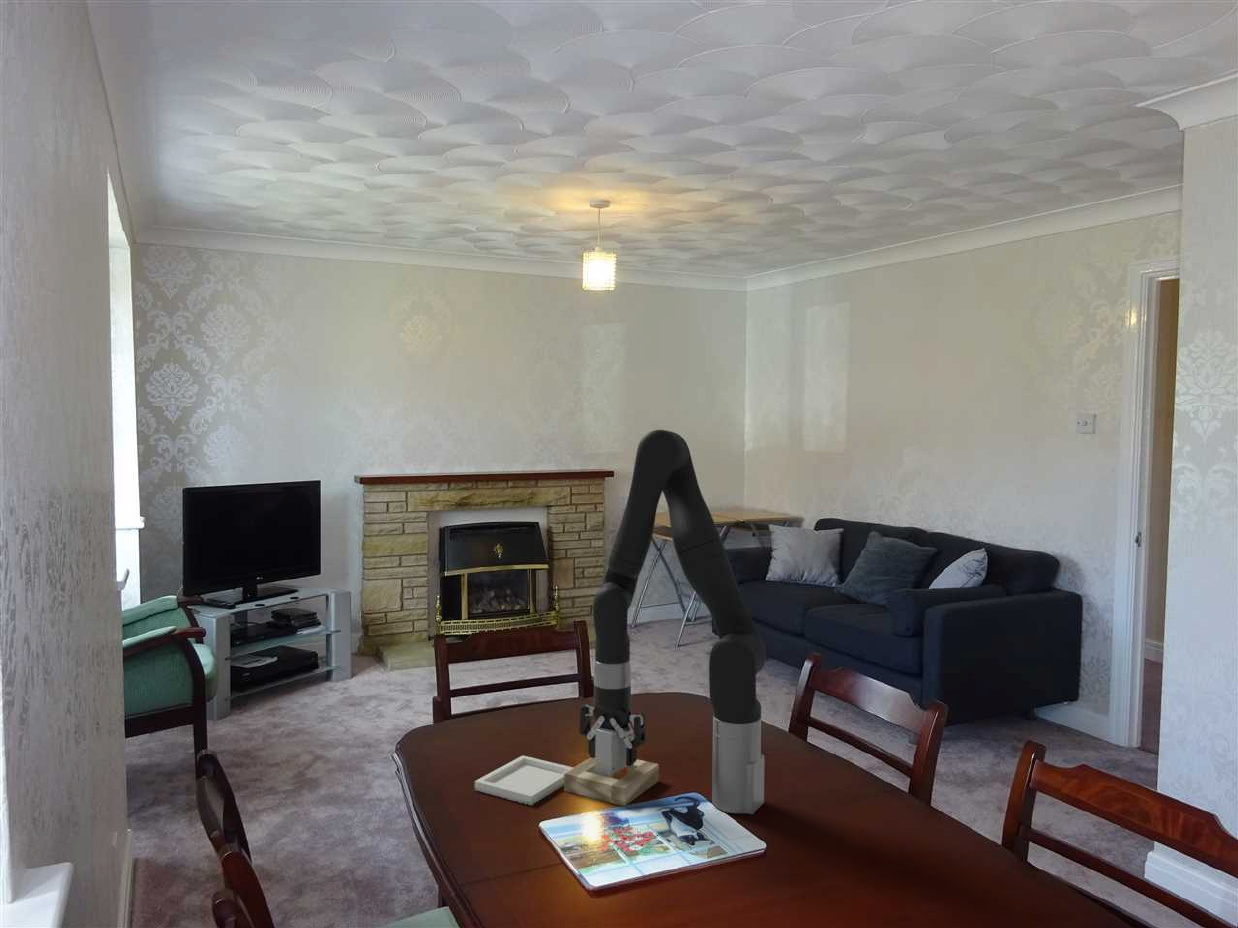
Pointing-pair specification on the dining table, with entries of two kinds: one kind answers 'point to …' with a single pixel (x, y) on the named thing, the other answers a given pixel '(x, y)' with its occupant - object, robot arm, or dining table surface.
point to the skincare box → (610, 754)
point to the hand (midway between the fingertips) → (612, 760)
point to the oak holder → (611, 782)
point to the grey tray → (523, 780)
